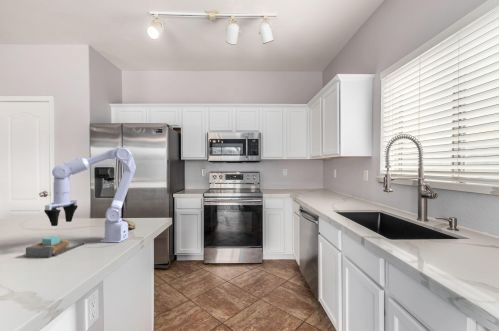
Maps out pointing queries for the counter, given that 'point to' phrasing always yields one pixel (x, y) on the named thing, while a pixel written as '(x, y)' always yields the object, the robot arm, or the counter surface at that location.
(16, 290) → the counter surface
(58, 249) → the brown rectangular frame
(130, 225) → the decorative stone
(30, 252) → the backstop
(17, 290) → the counter surface
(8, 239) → the counter surface
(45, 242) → the aqua rectangular prism
